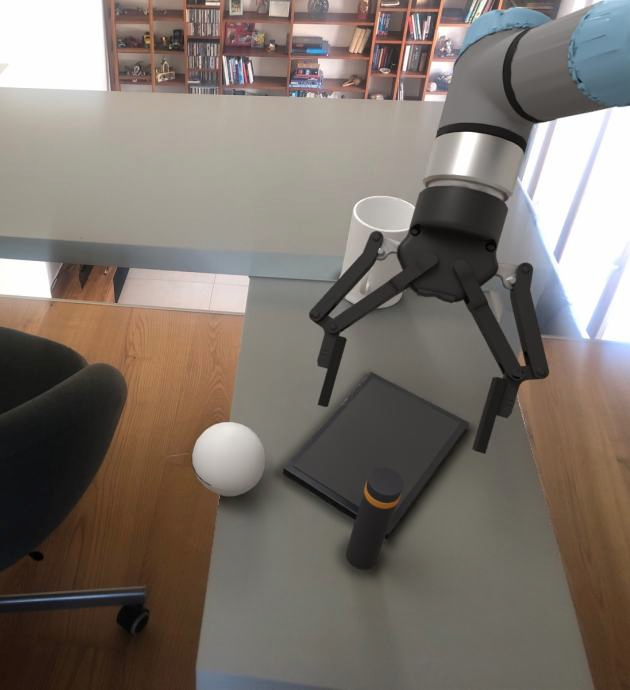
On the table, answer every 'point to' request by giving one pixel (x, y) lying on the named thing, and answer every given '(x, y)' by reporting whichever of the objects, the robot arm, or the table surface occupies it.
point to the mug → (367, 218)
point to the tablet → (376, 446)
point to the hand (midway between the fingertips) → (397, 428)
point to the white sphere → (228, 459)
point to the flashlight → (374, 517)
